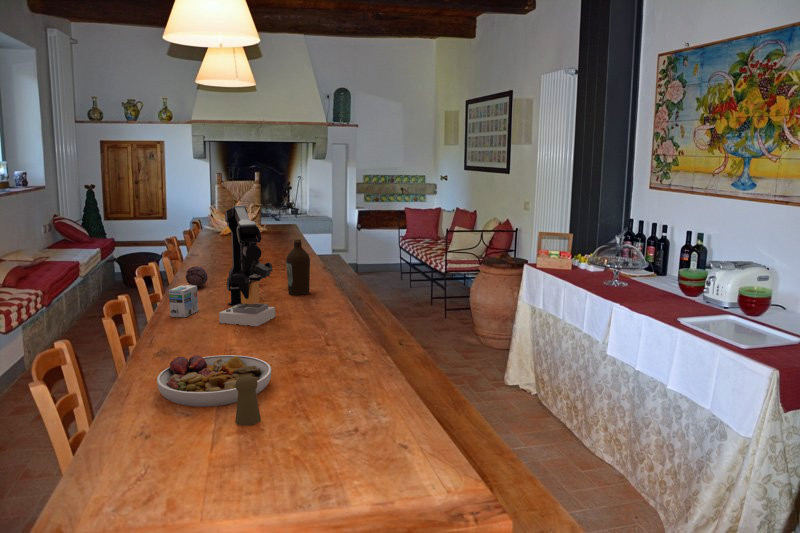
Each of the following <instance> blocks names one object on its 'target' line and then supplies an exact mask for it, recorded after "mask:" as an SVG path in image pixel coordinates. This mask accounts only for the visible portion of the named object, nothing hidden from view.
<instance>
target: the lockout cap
mask: <svg viewBox="0 0 800 533" xmlns="http://www.w3.org/2000/svg"><path fill="white" fill-rule="evenodd" d="M250 281H252V283H251V284H250V285H249V296H248V299H245V297H244V295H243V294H242V292H241V303H244V304H255V303H259V302H260V281H254V280H250Z"/></svg>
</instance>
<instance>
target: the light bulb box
mask: <svg viewBox="0 0 800 533" xmlns="http://www.w3.org/2000/svg"><path fill="white" fill-rule="evenodd" d="M168 298H169V316H170V317H173V318H174V317H175V318H187V317H190V316H191V314H192V315H194V314H196V313H198V312H199V301H198V299H199V298H198V286H194V285H192V284H189V285H188V284H182V285H178V286H177V287H174V288H173V287H172V288H171V289H168ZM195 312H196V313H195ZM193 313H194V314H193Z"/></svg>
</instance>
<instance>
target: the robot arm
mask: <svg viewBox="0 0 800 533" xmlns="http://www.w3.org/2000/svg"><path fill="white" fill-rule="evenodd" d="M248 214H249V213H248V209H247V207H246V205H243V204H239V205H232V206H231V208H229V209H227V210H226V211H225V214H224V220H225V223H226V225H227V227H228V229H229V230H230V234H231V260H232V261H231V263H232V266H231V268H230V269H229V271H228V276H227V279H226V290H227V291H228V292H230V302H228V303H227V305H230V306H235V305H238V304H244V303H241V292H242V294H243V295H244V297H245V299H248V296H249V285H250V284H251V283H252V281H250V280H254V281H259V282H260V281H261V280H263V279H264V278H265V279H267V277H270V275H271V272H273V264H272V263H271V262H269V261H267V262H266V263H261V262H260V258H262V257H261V256H262V249H261V248H260V247H259V246H258V245H257V243H261V240H262V235H261V230H260V228H259V226H258V225H257V224H256V222H255V221H253V220H251V219H250V217H249V215H248Z"/></svg>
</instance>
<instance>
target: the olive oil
mask: <svg viewBox="0 0 800 533" xmlns="http://www.w3.org/2000/svg"><path fill="white" fill-rule="evenodd" d="M302 244H303V242H302V239H301V238H294V239H293V248H292V249H291V250H290V251H289V252H288V254H287V255H286V261H285V262H286V265H285V266H286V276H287V277H286V278H287V290H288V295H290V296H295V297H302V296H307V295H309V294H310V282H311V281H310V280H311V279H310V277H311V276H310V275H311V274H310V273H311V271H310V270H311V258H310V255H309V253H308V252H307V251H306V250H305V249H304V248H303V247H302Z"/></svg>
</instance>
